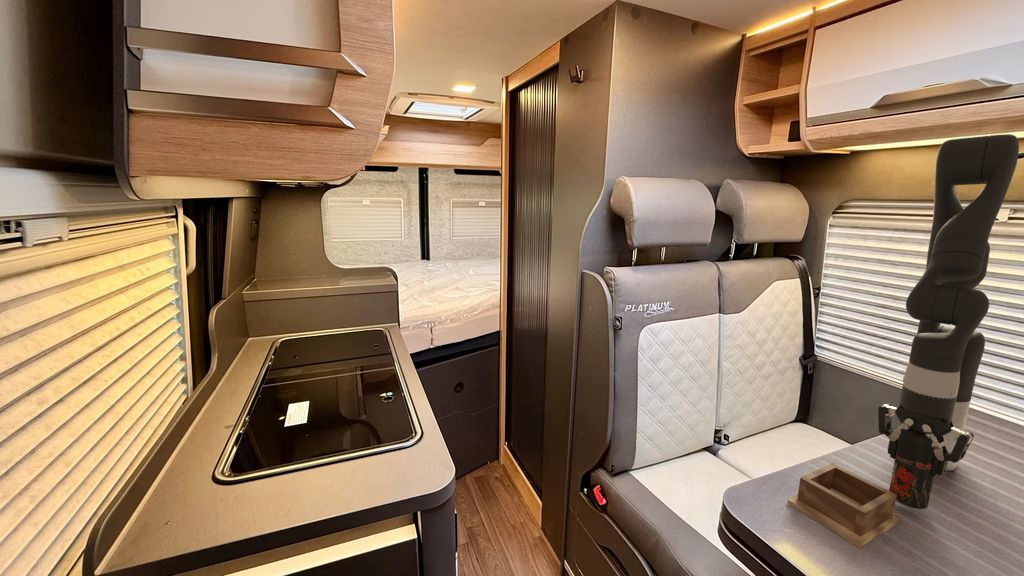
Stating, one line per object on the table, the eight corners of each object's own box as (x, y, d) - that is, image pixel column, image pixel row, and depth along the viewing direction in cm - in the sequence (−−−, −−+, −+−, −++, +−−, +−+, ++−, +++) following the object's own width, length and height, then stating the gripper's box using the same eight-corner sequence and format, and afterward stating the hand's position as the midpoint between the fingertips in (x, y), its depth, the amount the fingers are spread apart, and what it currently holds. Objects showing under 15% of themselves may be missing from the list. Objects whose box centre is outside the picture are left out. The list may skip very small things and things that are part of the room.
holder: (829, 483, 96) (833, 458, 94) (901, 521, 84) (906, 494, 83) (787, 503, 89) (790, 477, 88) (859, 547, 78) (864, 519, 77)
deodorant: (935, 510, 84) (950, 441, 81) (900, 507, 85) (913, 438, 82) (914, 490, 90) (927, 425, 87) (882, 487, 91) (893, 423, 88)
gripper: (991, 398, 78) (972, 480, 81) (893, 371, 90) (881, 443, 94) (972, 408, 74) (953, 493, 78) (874, 378, 87) (862, 452, 91)
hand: (914, 465), depth 86 cm, fingers closed on deodorant, 6 cm apart
